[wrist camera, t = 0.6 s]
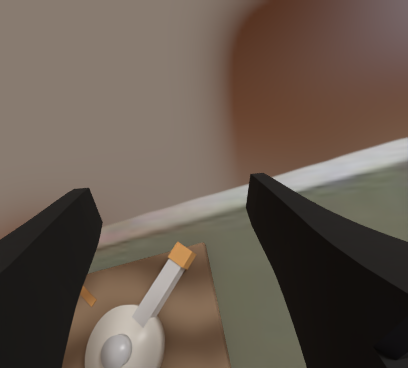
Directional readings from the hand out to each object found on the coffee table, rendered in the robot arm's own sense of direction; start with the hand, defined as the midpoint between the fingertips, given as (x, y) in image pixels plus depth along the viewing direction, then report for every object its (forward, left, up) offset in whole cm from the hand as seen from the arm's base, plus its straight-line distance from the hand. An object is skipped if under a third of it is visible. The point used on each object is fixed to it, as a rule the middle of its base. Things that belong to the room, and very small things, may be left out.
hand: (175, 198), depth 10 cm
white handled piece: (-4, +8, -15) cm, 18 cm away
